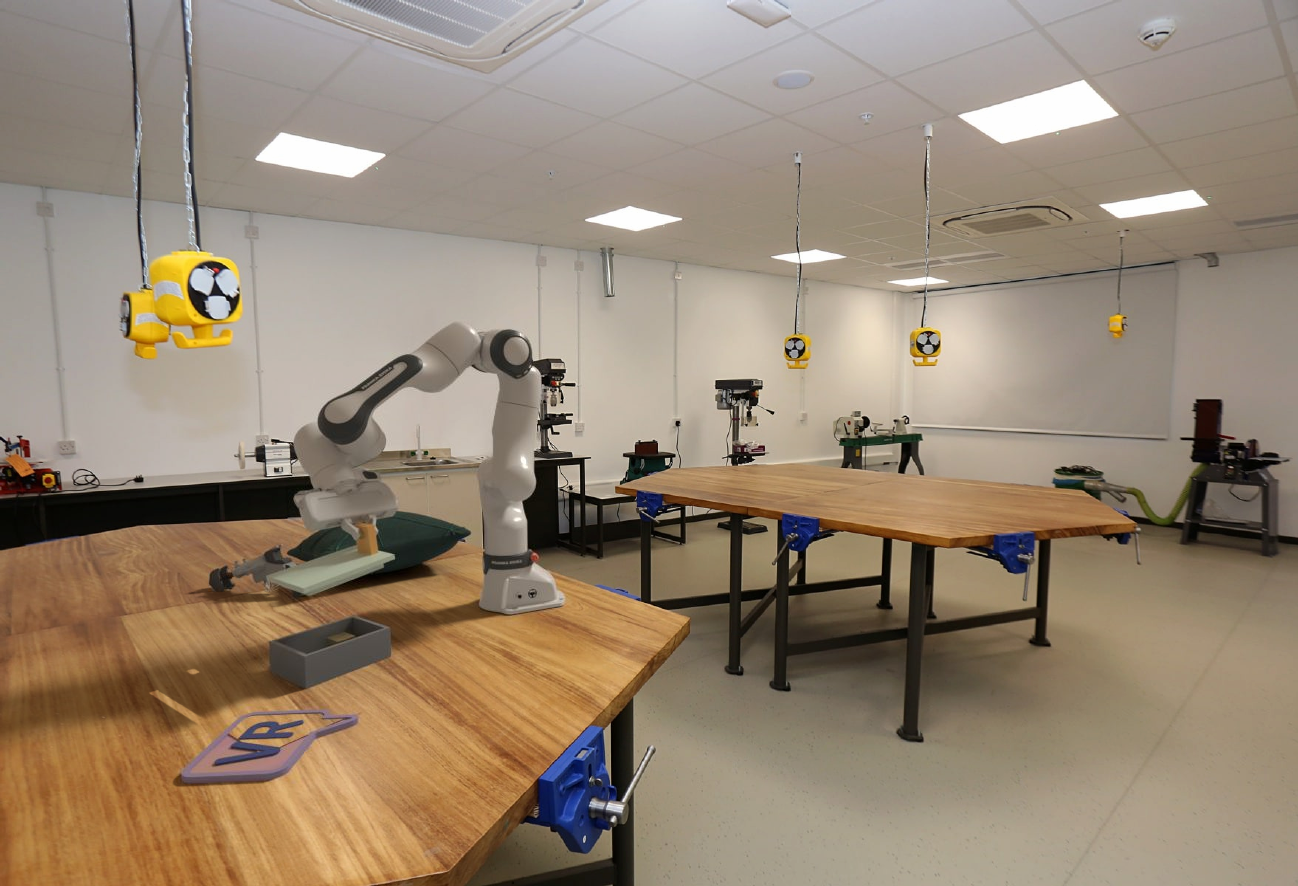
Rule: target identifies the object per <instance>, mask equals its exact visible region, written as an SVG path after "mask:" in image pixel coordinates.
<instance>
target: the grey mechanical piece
mask: <svg viewBox="0 0 1298 886" xmlns="http://www.w3.org/2000/svg"><path fill="white" fill-rule="evenodd" d="M283 546H285V545H284V544H282V543H281V544H278V545H275V546H273V547H271V548H270V549H268V550H266V551H265V552H264V553H262V554H261V555H260V556H257V557H255V558H253V559H250V560H247V558H246V557H245V558H243V559H242V563H241V564H240V563H239V560H235V561H234V562H233V563H234V566H233V568H232V569H231V571H228V570H229V569H230V568H229V566H228V564H227V565H225V566H223V567H221V568H220V567H218V568H215V569H213V570H212V571H210V573H209V576H208V585H209V587H211V588H212V589H214V590H215V592H223V591H226V590H228V589H232V588H235V587H236V583H235V582H232V579H233V578H236V579H242V578H243V577H244V576H246V577H247V576H250V574H251V575H252V579H253V581H254V583H255V584H259V583H262V582H263V586H264V588H265V589H266V590H267V591H272V590H273V591H274V590H275V589H277V588H279V587H280V586H281V585H278V584H275V583H273V588H272V582H269V581H267V579H266V576H267V575H270V574H273V573H276V572H279V571H282V570H285V569H287V568H290V567H293V566H296V565H297V564H296V562H294V560H293V559H292V557H284V556H283V554H282V552H281V549H282V547H283ZM268 582H269V583H268ZM291 594H292V598H301V597H302V596H305V595H306V594H303V593H300V592H297V591H294V590H291Z"/></svg>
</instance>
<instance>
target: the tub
mask: <svg viewBox="0 0 1298 886" xmlns="http://www.w3.org/2000/svg"><path fill="white" fill-rule="evenodd" d="M391 630H392V629H391V627H390V626H387V625H384V624H382V623H378V622H374V621H373V620H369V619H366V618H364V617H360V616H357V615H351V616H347V617H344V618H341V619H337V620H334V621H331V622H328V623H325V624H322V625H317V626H314V627H312V628H311V627H310V628H309V629H308V628H307V629H305V630H302V631H298V632H296V633H291V634H288V635H286V636H282V637H279V638H275V639H272V640H269V641H268V651H269V652H268V653H269V673H271V674H273V675H275V676H276V677H277V676H278V677H279V678H282V679H283V680H285V681H288V682H290V683H292V684H294V685H296V686H298V687H300V688H302V689H304V690H308V689H311V688H312V687H316V686H318V685H320V684H324V683H326V682H329V681H331V680H334V679H336V678H339V677H342V676H344V675H347V674H349V673H351V672H355V671H358V670H360V669H363V668H365V667H368V666H370V665H373V664H376V663H378V662H382V661H383V660H386V659H388V658H392V642H391V641H392V638H391V637H392V635H391V634H392V633H391ZM343 632H346V633H349V634H352V635H354V636H355V637H356V638H353V639H350V640H347V641H344V642H341V643H338V644H336V645H333V646H330V647H327V640H326V638H327V637H330V636H333V635H337V634H340V633H343Z"/></svg>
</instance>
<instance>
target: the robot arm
mask: <svg viewBox="0 0 1298 886" xmlns="http://www.w3.org/2000/svg"><path fill="white" fill-rule="evenodd" d="M470 367H471V368H473V369H474V370H476V371H478V372H481V373H489V374H494V375H496V376H497V379H498V382H499V383H498V384H499V386H498V387H499V391H498V394H497V399H496V405H495V409H494V415H493V422H492V428H491V436H492V456H489V457H487V458H485V459H484V460H483V461H481V463H480V464H479V466H478V468H477V473H476V477H477V478H476V479H477V481H478V488H479V489H478V491H479V497H480V505H481V511H482V517H483V532H484V533H483V535H484V536H483V538H484V540H483V541H484V544H483V545H484V550H483V552H482V561H481V562H482V563H481V564H482V565H481V566H482V572H483V573H482V574H483V581H482V582H483V583H482V589H481V595H480V599H479V602H478V606H479V608H481V609H483V610H486V611H489V612H496V613H501V614H504V615H516V614H522V613H527V612H533V611H534V612H535V611H539V610H540V611H541V610H545V609H551V608H557V607H562V606H564V605H565V603H566V596H565V594H564V593H563V592H562V591H561V590H559V589H558V588H557V583H556V580H555V579H554V576H553V575H552V574H551V573H550V572H549V571H547V570H545V569H544V568H543V567H541V566H540V565H538V564H537V563H538V561H539V558H540V557H539V555H538V553H536V552H535V551H533V550H532V549H529V548H528V519H527V517H526V513H525V510H524V509H525V508H524V504H523V501H525V500H527V499H528V498H530V497H531V496H532V494H533V493H534V491H535V489H536V485H537V478H536V474H535V437H536V436H535V435H536V429H537V423H538V418H539V412H540V408H541V407H540V405H541V398H542V374H541V372H540V371H539V369H538V368H537V367H535V365H534V359H533V349H532V344H531V342H530V340H529V339H528V337H527V336H526V335H525V334H523V333H522V332H520V331H518V330H515V329H511V328H510V329H509V328H507V329H502V328H501V329H500V328H497V329H496V328H495V329H491V330H487V331H480V332H477V331H476V329H474V327H472V325H469V324H468V323H465V322H462V321H455V322H452V323H450V324H448V325H446V326H444V328H442V329H440V330H439V331H438V332H436V333H434V334H433V335H432V336H431V337H429V338H428V339H427V340H425V342H424V343H422V344H421V346H419V347H418V348H417V349H416V350H414V351H412V352H410V353H407V354H403V355H400V356H398V357H396V358H394V359H393V360H391V361H390V362H388V363H387V364H385V365H383V367H381V368H379V369H378V370H377V371H375V372H374V373H373V374H371V375H370V376H368V377H367V378H365V380H363V381H361V382H360V383H359V384H357V385H356V386H355V387H352V389H350V390H348V391H346V392H344V393H342V394H340V395H337V396H336V397H333V398H332V399H330V400H328V401H327V402H326V403H325V404H323V406H322V408H321V409H320V411H319V412H318V415H317V421H313V422H309V423H307V424H305V425H303V426H302V427H300V428H299V429H298V431H297V432H296V433H295V435H294V438H293V448H294V449H293V450H294V452H295V455H296V457H297V459H298V461H299V463H300V466H301V467H302V470H303V471H304V472H305V473H306V474H307V475H308V476H309V479H310V483H311V485H312V487H313V488H312V489H309V490H300V491H298V492H297V493H295V494H294V496H293V501H294V502H293V503H294V504H295V505H296V507H297V508H298V510H299V514H300V517H301V520H302V523H303V525H304V527H305V529H307V530H308V531H311V532H317V531H319V530H322V529H328V528H333V527H338V526H341V528H342V529H343V530H344V531H346V532H347V533H349V534H351V535H352V537H353V538H354V540H359V539H362V537H364V532H362V529H361V528H358V529H357V528H356V527H355V526H353V525H352V524H354V523H360V522H365V523H367V524H372V525H374V526H375V525H376V519H381V518H386V517H392V516H393V515H394V514H395V513H396V511H399V510H398V509H399V507H400V502H399V500H398V498H397V497H396V495H395V493H394V492H393V491H392V489H391V488H390V487H389V486H388V484H387V483H385V482H383V481H382V478H383V476H382V475H381V473H379V472H377V471H373V470H372V471H371V470H366V469H361V468H357V467H360V466H362V465H365V464H367V463H370V462H371V461H373V460H375V459H376V458H378V457H379V456H381V454H383V452H384V450H385V448H386V443H387V439H386V438H387V437H386V434H385V432H384V431H383V430H382V428H381V427H380V425H379V424H378V423H377V421H376V420H375V419H374V417H373V415H374V412H375V410H376V409H378V408H379V407H380V406H382V404H384V403H386V401H388V400H390V398H392V397H393V396H394V395H396V394H397V393H398V392H400V391H401V390H404V389H406V388H414V389H416V390H419V391H420V392H424V393H430V394H431V393H432V394H433V393H434V394H435V393H440V392H442V391H443V390H445V389H447V388H449V386H451V385H452V384H453V383H454V382H455V381H456V380H457V379H458V378H459V377H460V376H461V375H462V374H463V373H464V372H465V370H467V369H469V368H470ZM375 533H376V535H377V534H378V529H377V528H376V526H375ZM536 562H537V563H536Z"/></svg>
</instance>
